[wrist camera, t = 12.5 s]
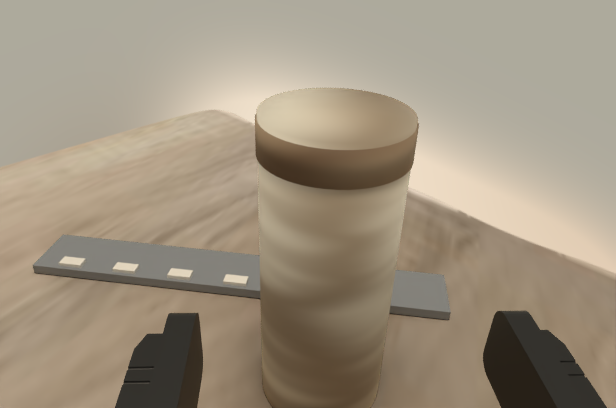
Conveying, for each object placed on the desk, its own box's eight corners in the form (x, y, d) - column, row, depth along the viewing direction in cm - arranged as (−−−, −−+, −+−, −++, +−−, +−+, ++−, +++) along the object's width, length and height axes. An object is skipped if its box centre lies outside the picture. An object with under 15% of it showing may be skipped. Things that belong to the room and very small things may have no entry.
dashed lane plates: (-180, 493, 17) (-190, 481, 16) (65, 241, 30) (62, 231, 29) (496, 603, 15) (502, 592, 14) (442, 281, 28) (444, 272, 27)
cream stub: (249, 420, 20) (236, 135, 14) (273, 329, 24) (272, 83, 18) (379, 438, 19) (425, 150, 13) (379, 341, 24) (414, 92, 18)
